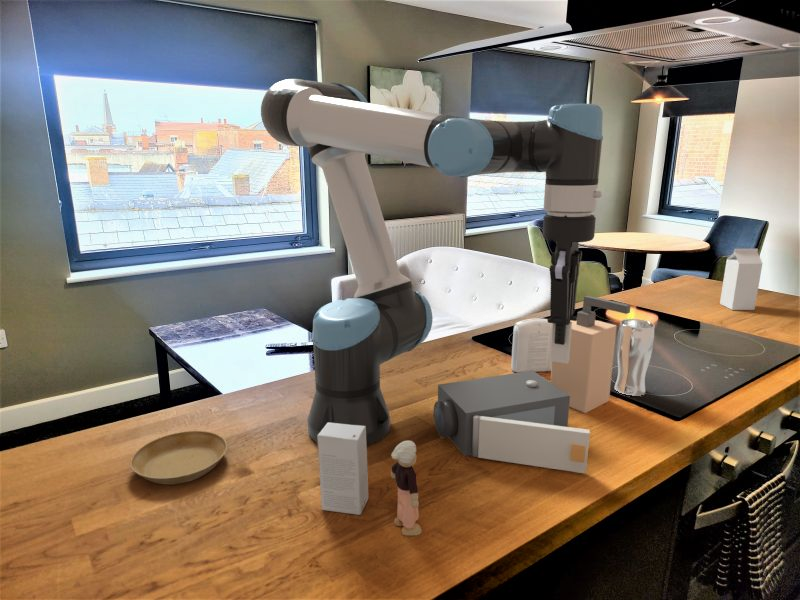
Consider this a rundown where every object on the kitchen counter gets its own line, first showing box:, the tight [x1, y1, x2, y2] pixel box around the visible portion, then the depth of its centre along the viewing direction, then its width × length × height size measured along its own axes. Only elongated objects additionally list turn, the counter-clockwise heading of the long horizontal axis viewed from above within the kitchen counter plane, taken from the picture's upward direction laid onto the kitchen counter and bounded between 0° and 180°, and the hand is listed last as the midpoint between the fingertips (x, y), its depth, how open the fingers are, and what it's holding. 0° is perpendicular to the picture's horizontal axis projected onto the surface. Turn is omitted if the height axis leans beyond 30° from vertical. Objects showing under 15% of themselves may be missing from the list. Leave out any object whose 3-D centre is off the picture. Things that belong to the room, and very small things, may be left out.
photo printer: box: [510, 317, 553, 373], centre depth 127 cm, size 10×4×12 cm, turn 98°
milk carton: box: [719, 248, 763, 311], centre depth 175 cm, size 7×7×19 cm
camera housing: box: [433, 371, 570, 457], centre depth 100 cm, size 22×12×9 cm, turn 109°
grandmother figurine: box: [390, 440, 423, 537], centre depth 75 cm, size 8×4×13 cm, turn 35°
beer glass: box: [614, 318, 656, 397], centre depth 116 cm, size 7×7×15 cm
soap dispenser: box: [550, 295, 631, 414], centre depth 109 cm, size 13×9×22 cm
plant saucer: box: [129, 430, 228, 485], centre depth 91 cm, size 15×15×3 cm
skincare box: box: [317, 422, 369, 516], centre depth 79 cm, size 6×4×12 cm
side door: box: [471, 416, 591, 474], centre depth 89 cm, size 18×2×7 cm, turn 74°
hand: (559, 360), depth 89 cm, fingers closed
